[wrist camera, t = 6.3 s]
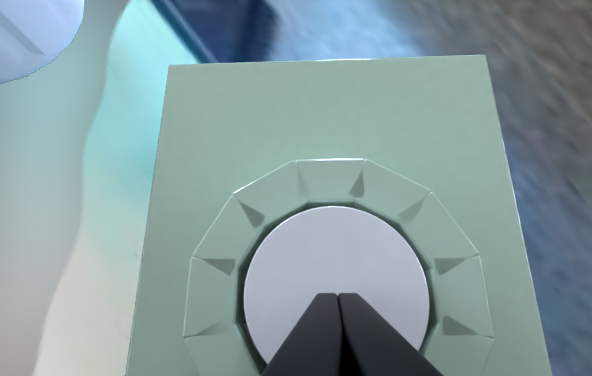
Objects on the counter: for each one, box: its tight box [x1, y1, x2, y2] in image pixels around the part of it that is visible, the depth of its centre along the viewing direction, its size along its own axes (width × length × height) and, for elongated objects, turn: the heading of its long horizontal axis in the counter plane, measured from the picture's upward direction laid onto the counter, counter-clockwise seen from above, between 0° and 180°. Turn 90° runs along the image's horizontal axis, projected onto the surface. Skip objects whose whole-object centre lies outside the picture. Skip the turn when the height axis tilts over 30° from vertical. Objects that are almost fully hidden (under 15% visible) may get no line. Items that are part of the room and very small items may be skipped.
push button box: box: [125, 55, 552, 376], centre depth 13 cm, size 11×11×8 cm
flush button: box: [244, 206, 430, 365], centre depth 9 cm, size 4×4×2 cm
